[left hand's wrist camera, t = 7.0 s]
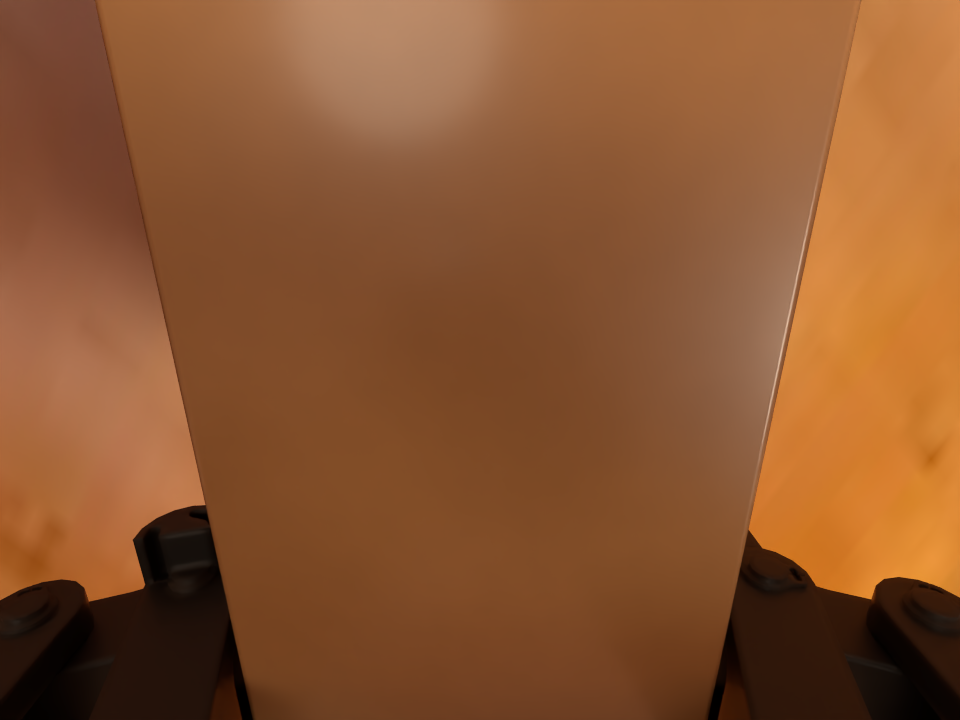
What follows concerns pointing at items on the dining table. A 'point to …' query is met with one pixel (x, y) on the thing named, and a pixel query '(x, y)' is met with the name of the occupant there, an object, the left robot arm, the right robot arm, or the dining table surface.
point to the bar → (479, 329)
